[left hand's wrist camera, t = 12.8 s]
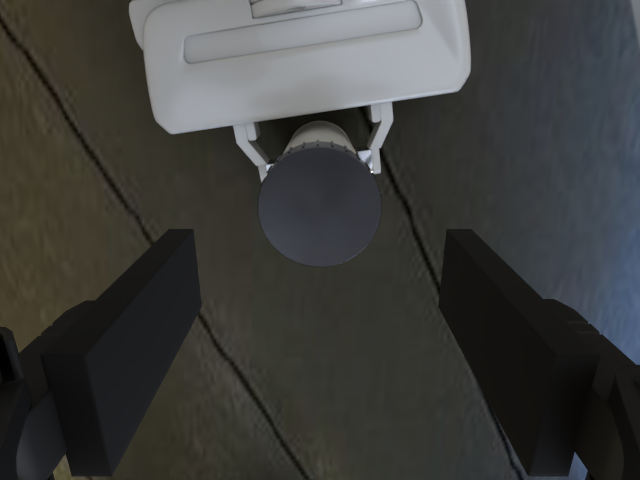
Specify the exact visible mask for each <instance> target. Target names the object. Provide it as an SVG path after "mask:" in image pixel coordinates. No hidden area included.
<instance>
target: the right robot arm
mask: <svg viewBox="0 0 640 480" xmlns="http://www.w3.org/2000/svg"><path fill="white" fill-rule="evenodd" d="M129 15H130V19H131V23H132V27H133V31H134V35H135V38H136V41H137V43H138V45H139V47H140V48H141V50H142V51H143V52H144V62H145V71H146V79H147V85H148V91H149V97H150V102H151V106H152V111H153V115H154V118H155V120H156V122H157V123H158V124H159V125H160V126H161V127H162V128H164V129H165V130H166V131H167V132H168V133H170V134H178V133H185V132H192V131H199V130H205V129H212V128H219V127H225V126H232V125H233V128H234V133H235V138H236V143H237V144H238V145H239V146H240V148H241V149H242V150H243V151H244V152H245V153H246V155H247V156H248V157H249V158H250V159H251V160H252V162H253V163H254V164H255V165H256V166H258V168H259V173H260V179H261V183H262V181H263V179H264V178H265V177H266V176H267V174H268V173H267V171H268V169H269V167H270V166H271V165H272V166H273V165H274V163H275V162H276V160H277V159H275V160H270V159H269V158H268V156H267V155H266V154H265V153H264V151H263V150H262V149H261V148H260V146H259V145H258V144H257V142H256V141H255V140H256V139H257V138H258V137H259V136H260V135H261V134H260V128H259V121H266V120H272V119H279V118H286V117H292V116H299V115H306V114H313V113H319V112H326V111H333V110H339V109H346V108H353V107H359V106H366V105H367V107H368V116H369V119H370V120H371V121H373V122H374V123H375V122H376V124H375V126H374V129H373V131H372V134H371V136H370V138H369V141H368V143H367V146H365V147H359V148H355V149H356V153H358V155H359V157H360V158H361V159H362V160H363V161H364V163H367V164H368V166H369V167H370V169H371V170H370V172H371V174H381V166H380V155H379V148H381V146H382V144H383V142H384V140H385V137H386V135H387V133H388V131H389V129H390V126H391V124H392V122H393V109H392V102H393V101H400V100H406V99H413V98H420V97H426V96H433V95H440V94H446V93H453V92H457V91H459V90H460V89H461V87H462V86H463V84H464V83H465V81H466V80H467V78H468V76H469V74H470V71H471V51H470V37H469V27H468V19H467V11H466V5H465V0H131V2H130V4H129Z"/></svg>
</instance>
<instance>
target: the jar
mask: <svg viewBox="0 0 640 480" xmlns="http://www.w3.org/2000/svg"><path fill="white" fill-rule="evenodd" d="M317 140H319V141H324V142H331V141H333V143H335V144H339V145H341V146H343V147H344V145H345V146H347V148H348V149H349V150H351V151H352V152H354V153H355V154H356V152H355V150H354V148H353V146H352V144H351V142H350V140H349V138H348V136H347V135H346V133H345V132H344V131H343V130H342V129H341V128H340V127H339V126H337V125H335V124H333V123H331V122H327V121H313V122H309V123H307V124H305V125H303V126H302V127H300V128H299V129H298V130H297V131H296V132H295V133H294V135H293V136H292V138H291V140H290V142H289V144H288V145H287V147H286V149H285V151H284V153H286V152H287V151H288V150H289V149H290V147H292V148H294V147H296V146H298V145H301V144H303V142H305V143H308V142H316V141H317ZM284 153H283V154H284Z"/></svg>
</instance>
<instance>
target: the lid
mask: <svg viewBox="0 0 640 480" xmlns="http://www.w3.org/2000/svg"><path fill="white" fill-rule="evenodd" d="M370 170H371V169H370V167H369V166H368V164H367V163H364V161H363V160H362V159H361V158H360V157H359V155H358V153H356V154H355V153H354V152H352V151H351V150H349V149H348V148H347V146H345V145H344V147H343V146H341V145H339V144H335V143H333V141H331V142H324V141H319V140H317V141H316V142H308V143H305V142H303V144H301V145H298V146H296V147H294V148H292V147H290V149H289V150H288V151H287V152H286V153H284V154H283V155H282V156H281V155H279V157H278V158H277V160H276V162H275V163H274V165H273V166H272V165H271V166H270V167H269V169H268V171H267V173H268V174H267V176H266V177H265V178H264V179H263V181H262V183H261V185H260V186H261V189H260V192H259V196H258V198H257V200H258V217H259V222H260V225H261V228H262V230H263V232H264V234H265V236H266V238H267V239H268V241H269V242H270V243H271V245H272V246H273V247H274V248H275V249H276V250H277V251H278V252H279V253H281V254H282V255H284V256H285V257H286V258H288V259H290V260H292V261H294V262H297V263H299V264H303V265H307V266H314V267H325V266H332V265H336V264H340V263H342V262H345V261H347V260H349V259H351V258H353V257H354V256H356V255H357V254H359V253H360V252H361V251H362V250H363V249H364V248H365V247H366V246H367V245H368V244H369V243H370V241H371V240H372V238H373V237H374V235H375V233H376V231H377V229H378V226H379V223H380V218H381V210H382V204H381V193H380V191H379V188H378V186H377V183H378V181H377V180H376V178H375V176H374V174H371V172H370Z"/></svg>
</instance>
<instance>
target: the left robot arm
mask: <svg viewBox="0 0 640 480" xmlns="http://www.w3.org/2000/svg"><path fill="white" fill-rule="evenodd" d="M201 307H202V305H201V296H200V287H199V277H198V268H197V259H196V250H195V240H194V231H193V229H169V230H168V231H167V232H166V233H165V234H163V235H162V236H161V237H160V238H159V239H158V240H157V241H156V242H155V243H154V244H153V245H152V246H151V247H150V248H149V249H148V250H147V251H146V252H145V253H144V254H143V255H142V256H141V257H140V258H139V259H138V260H137V261H136V262H135V263H134V264H133V265H131V266H130V267H129V268H128V269H127V270H126V271H125V272H124V273H123V274H122V275H121V276H120V277H119V278H118V279H117V280H116V281H115V282H114V283H113V284H112V285H111V286H110V287H109V288H108V289H107V290H106V291H105V292H104V293H103V294H102V295H101V296H100V297H98V298H97V299H96V300H95V301H84V302H83V303H81V304H79V305H77V306H75V307H73V308H71V309H69V310H67V311H66V312H65V313H63V314H62V315H61V316H60V317H59V318H58V319H57V320H56V321H55V322H53V323H52V324H53V325H52V326H49V327H48V328H47V329H46V330H45V331H43V332H42V333H41V336H38V337H37V338H36V339H35V340H33V341H32V342H31V343H30V344H29V345H28V346H27V347H26V348H24V349H23V350H22V351H21V352H20V353H18V349H17V346H16V342H15V339H14V335H13V332H12V331H11V330H9V329H7V328H6V327H0V480H55V479H54V475H53V471H54V469H55V468H56V466H57V465H58V463H59V462H60V461H61V459H62V458H63V456H64V455H65V453H66V456H67V460H68V463H69V467H70V471H71V475H72V476H112V475H113V473H114V471H115V469H116V468H117V466H118V464H119V462H120V460H121V458H122V456H123V454H124V452H125V451H126V449H127V447H128V445H129V443H130V441H131V439H132V437H133V435H134V433H135V432H136V430H137V428H138V426H139V424H140V422H141V420H142V418H143V416H144V415H145V413H146V411H147V409H148V407H149V405H150V403H151V401H152V399H153V398H154V396H155V394H156V392H157V390H158V388H159V386H160V384H161V382H162V381H163V379H164V377H165V375H166V373H167V371H168V369H169V367H170V365H171V364H172V362H173V360H174V358H175V356H176V354H177V352H178V350H179V348H180V347H181V345H182V343H183V341H184V339H185V337H186V335H187V333H188V331H189V330H190V328H191V326H192V324H193V322H194V320H195V318H196V316H197V314H198V313H199V311H200V309H201ZM438 307H439V309H440V311H441V313H442V314H443V316H444V318H445V320H446V322H447V324H448V326H449V328H450V330H451V331H452V333H453V335H454V337H455V339H456V341H457V343H458V345H459V347H460V348H461V350H462V352H463V354H464V356H465V358H466V360H467V362H468V364H469V365H470V367H471V369H472V371H473V373H474V375H475V377H476V379H477V381H478V382H479V384H480V386H481V388H482V390H483V392H484V394H485V396H486V398H487V399H488V401H489V403H490V405H491V407H492V409H493V411H494V413H495V415H496V416H497V418H498V420H499V422H500V424H501V426H502V428H503V430H504V432H505V433H506V435H507V437H508V439H509V441H510V443H511V445H512V447H513V449H514V451H515V452H516V454H517V456H518V458H519V460H520V462H521V464H522V466H523V468H524V469H525V471H526V473H527V475H528V476H568V475H569V471H570V467H571V463H572V460H573V456H574V452H576V454H577V455H578V457H579V458H580V460H581V461H582V463H583V464H584V465H585V467H586V468H587V470H588V472H587V475H586V479H585V480H640V365H636V364H635V363H634V362H633V361H631V360H630V359H629V358H628V357H627V356H626V355H625V354H624V353H622V352H621V351H620V350H619V349H618V348H617V347H616V346H615V345H613V344H612V343H611V342H610V341H609V340H608V339H607V338H606V337H604V336H603V335H600V334H599V331H598V330H597V329H596V328H594V327H593V326H592V325H591V324H588V321H587V320H585V319H584V318H583V317H582V316H581V315H580V314H579V313H578V312H576V311H575V310H574V309H572V308H570V307H568V306H566V305H565V304H563V303H561V302H559V301H557V300H555V299H543V298H542V297H540V296H539V295H538V294H537V293H536V292H535V291H534V290H533V289H532V288H531V287H530V286H529V285H528V284H527V283H526V282H525V281H524V280H523V279H522V278H521V277H520V276H519V275H518V274H517V273H516V272H515V271H514V270H513V269H512V268H511V267H510V266H509V265H507V264H506V263H505V262H504V261H503V260H502V259H501V258H500V257H499V256H498V255H497V254H496V253H495V252H494V251H493V250H492V249H491V248H490V247H489V246H488V245H487V244H486V243H485V242H484V241H483V240H482V239H481V238H480V237H479V236H478V235H477V234H475V233H474V232H473V231H472V230H471V229H447V231H446V240H445V250H444V259H443V268H442V277H441V287H440V296H439V305H438Z"/></svg>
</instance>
